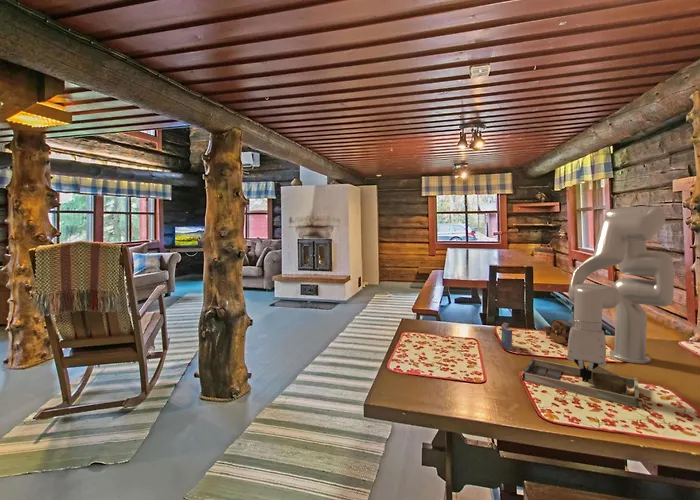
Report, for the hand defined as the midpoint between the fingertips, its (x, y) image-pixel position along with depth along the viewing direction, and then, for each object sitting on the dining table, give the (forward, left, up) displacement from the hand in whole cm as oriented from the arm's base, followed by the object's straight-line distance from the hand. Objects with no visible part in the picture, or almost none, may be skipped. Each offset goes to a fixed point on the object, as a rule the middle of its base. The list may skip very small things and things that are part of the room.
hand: (585, 380), depth 113 cm
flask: (-23, -31, -2) cm, 39 cm away
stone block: (-2, +5, -2) cm, 6 cm away
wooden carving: (-43, -14, -2) cm, 46 cm away
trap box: (0, -2, -2) cm, 3 cm away
